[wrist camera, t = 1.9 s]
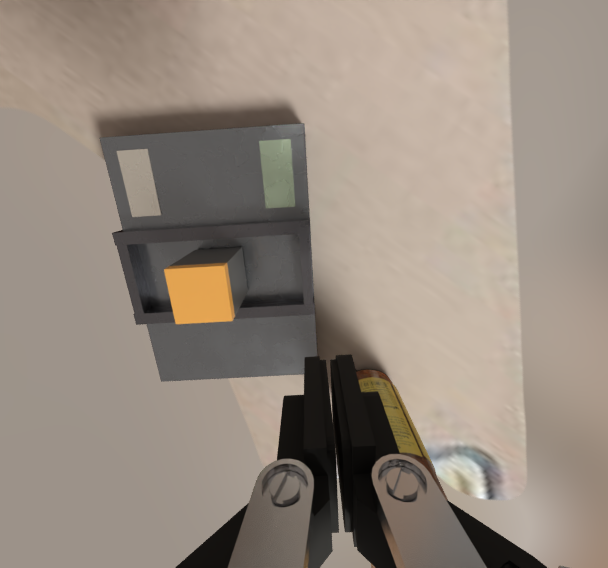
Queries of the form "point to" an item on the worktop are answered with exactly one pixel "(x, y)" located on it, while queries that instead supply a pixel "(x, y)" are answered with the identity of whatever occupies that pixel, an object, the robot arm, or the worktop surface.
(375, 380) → the sauce bottle
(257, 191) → the panel
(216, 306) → the toggle
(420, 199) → the worktop surface
